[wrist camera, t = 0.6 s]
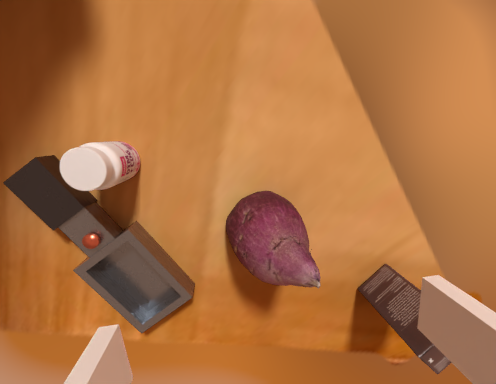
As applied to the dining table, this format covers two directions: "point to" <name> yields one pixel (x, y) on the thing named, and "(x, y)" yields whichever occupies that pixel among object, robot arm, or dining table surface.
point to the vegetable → (272, 240)
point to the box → (402, 313)
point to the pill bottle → (99, 165)
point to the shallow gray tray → (105, 246)
